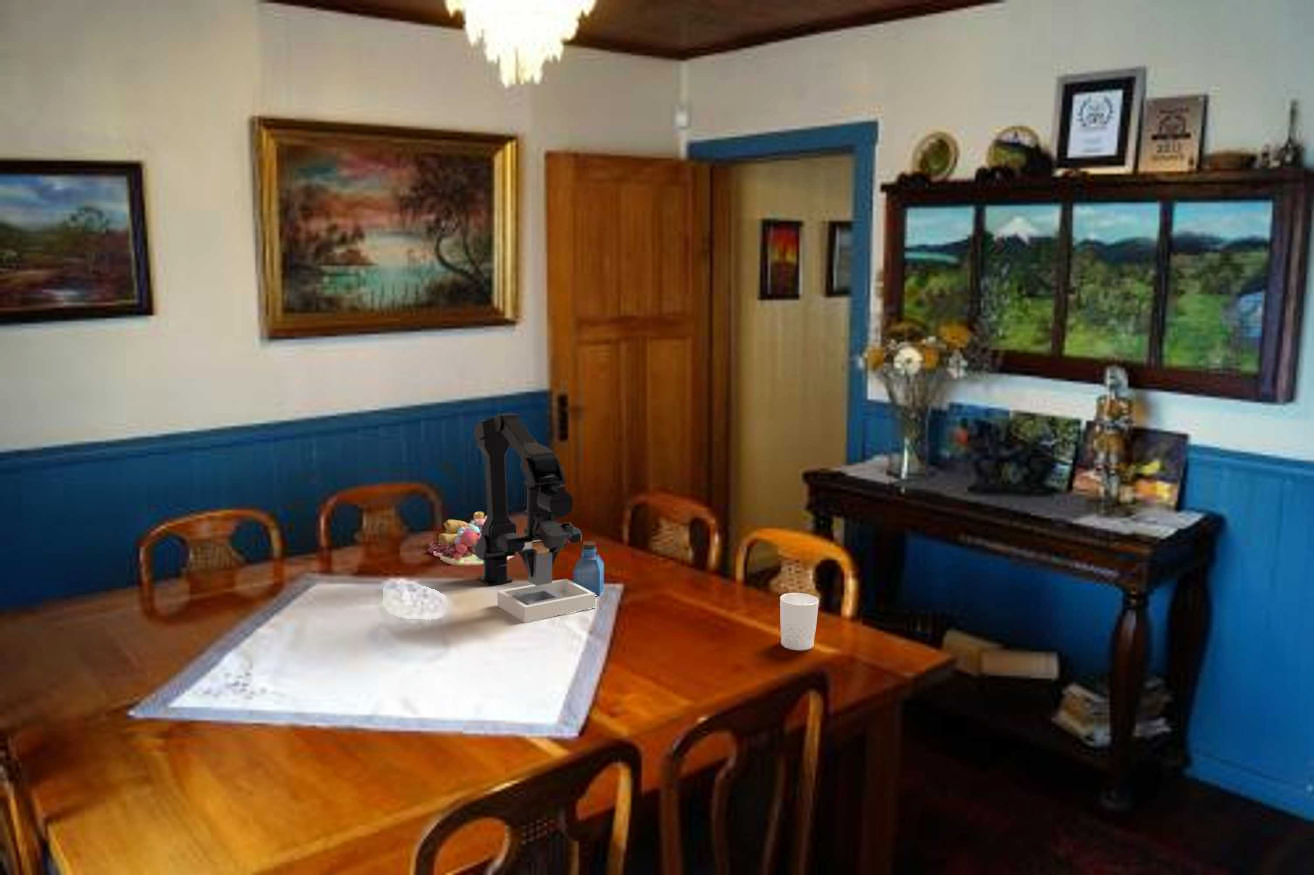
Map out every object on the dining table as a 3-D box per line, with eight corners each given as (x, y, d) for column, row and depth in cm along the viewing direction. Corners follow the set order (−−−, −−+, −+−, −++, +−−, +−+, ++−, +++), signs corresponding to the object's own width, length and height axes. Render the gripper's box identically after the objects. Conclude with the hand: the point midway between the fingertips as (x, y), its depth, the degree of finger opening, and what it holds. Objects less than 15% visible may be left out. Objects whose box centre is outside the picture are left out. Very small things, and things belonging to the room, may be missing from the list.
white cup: (819, 641, 222) (821, 595, 220) (812, 654, 214) (814, 607, 213) (782, 635, 224) (784, 590, 223) (774, 648, 217) (776, 602, 215)
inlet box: (497, 605, 239) (497, 591, 238) (566, 592, 249) (566, 578, 248) (524, 622, 228) (524, 607, 228) (595, 608, 239) (595, 593, 238)
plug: (536, 585, 233) (536, 551, 232) (527, 580, 236) (527, 547, 235) (551, 582, 236) (552, 549, 234) (543, 578, 239) (543, 544, 237)
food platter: (412, 549, 283) (411, 516, 281) (485, 535, 299) (485, 503, 297) (463, 571, 265) (463, 535, 263) (538, 554, 281) (538, 521, 279)
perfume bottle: (603, 588, 253) (604, 540, 251) (599, 596, 247) (600, 547, 245) (578, 587, 254) (578, 539, 251) (573, 595, 247) (574, 546, 245)
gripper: (519, 520, 221) (519, 591, 224) (595, 510, 232) (594, 578, 235) (495, 509, 230) (495, 578, 233) (569, 499, 241) (568, 565, 244)
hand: (539, 575), depth 236 cm, fingers closed on plug, 4 cm apart
